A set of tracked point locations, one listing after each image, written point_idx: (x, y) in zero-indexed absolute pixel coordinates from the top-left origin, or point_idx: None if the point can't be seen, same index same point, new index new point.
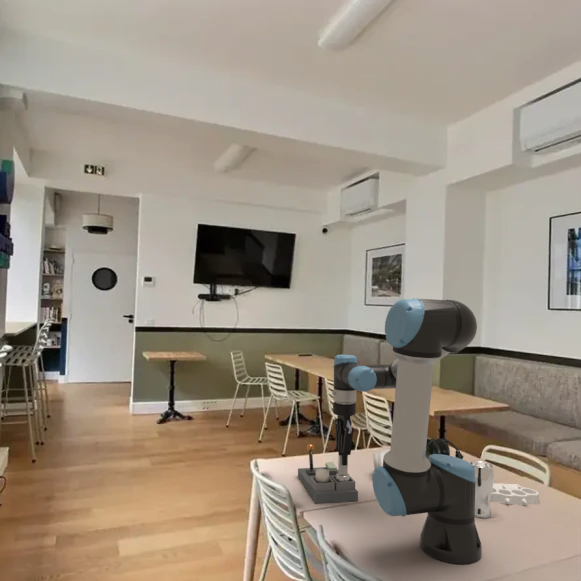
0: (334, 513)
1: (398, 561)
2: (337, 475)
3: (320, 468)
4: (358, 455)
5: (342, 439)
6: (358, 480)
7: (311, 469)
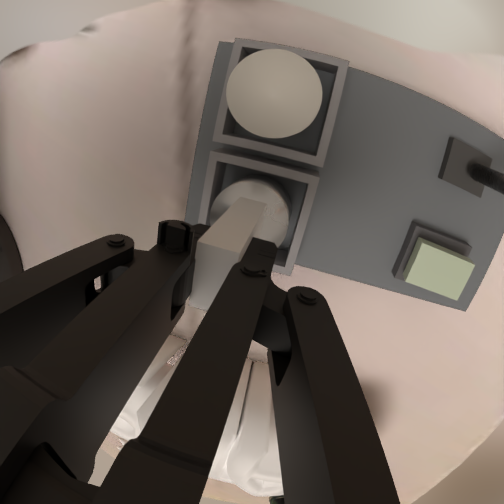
0: (135, 87)
1: None
2: (249, 186)
3: (487, 245)
4: (485, 414)
5: (66, 333)
6: (366, 336)
7: (471, 165)
